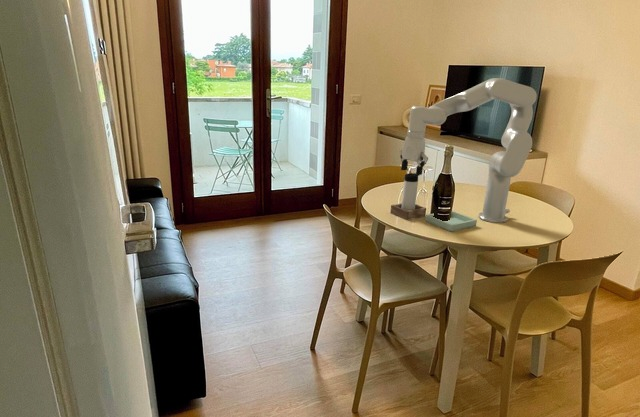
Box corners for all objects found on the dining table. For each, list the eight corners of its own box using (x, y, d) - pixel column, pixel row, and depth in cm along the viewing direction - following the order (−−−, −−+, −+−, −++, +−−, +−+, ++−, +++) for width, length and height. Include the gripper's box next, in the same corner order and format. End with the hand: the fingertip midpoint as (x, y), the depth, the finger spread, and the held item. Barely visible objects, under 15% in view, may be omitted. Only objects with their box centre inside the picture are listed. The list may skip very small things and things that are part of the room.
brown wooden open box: (409, 209, 207) (410, 201, 205) (425, 216, 198) (426, 208, 196) (390, 213, 200) (391, 205, 199) (406, 220, 192) (407, 211, 190)
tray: (449, 216, 199) (450, 210, 198) (475, 226, 187) (476, 219, 186) (425, 221, 191) (426, 215, 190) (450, 232, 179) (451, 225, 178)
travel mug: (415, 217, 196) (419, 175, 189) (400, 216, 197) (404, 174, 191) (414, 213, 201) (419, 172, 195) (400, 212, 203) (404, 171, 196)
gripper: (396, 132, 192) (392, 168, 198) (423, 138, 179) (418, 177, 184) (408, 131, 196) (404, 167, 202) (436, 137, 182) (431, 176, 188)
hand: (411, 172), depth 193 cm, fingers open, 9 cm apart
